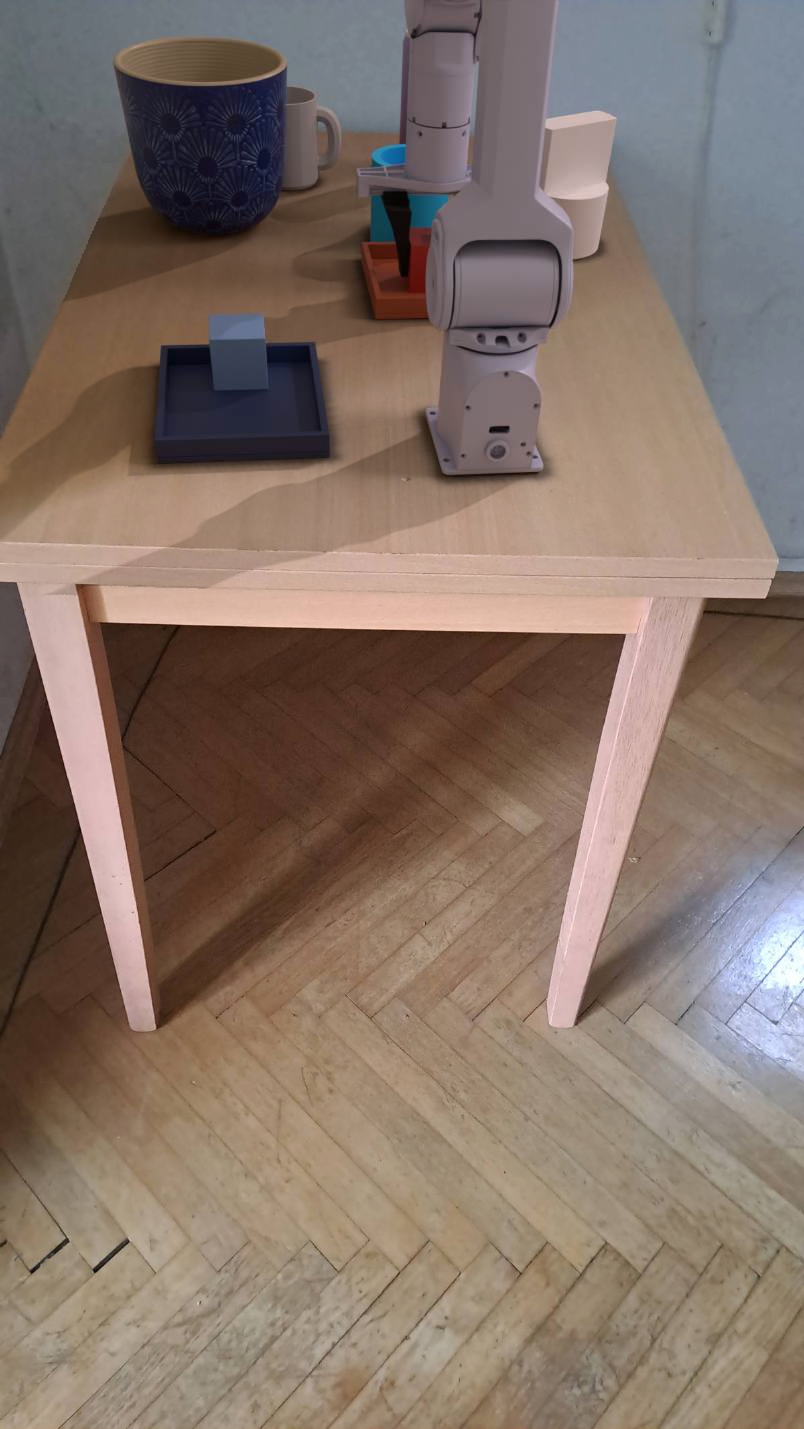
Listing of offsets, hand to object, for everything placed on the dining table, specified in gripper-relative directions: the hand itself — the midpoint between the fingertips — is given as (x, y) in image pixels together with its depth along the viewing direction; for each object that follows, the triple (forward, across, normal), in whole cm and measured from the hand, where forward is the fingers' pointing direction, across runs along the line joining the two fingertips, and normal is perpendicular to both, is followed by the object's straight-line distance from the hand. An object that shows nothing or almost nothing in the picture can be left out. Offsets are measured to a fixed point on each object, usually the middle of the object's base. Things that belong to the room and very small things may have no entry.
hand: (429, 272), depth 98 cm
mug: (+2, 0, -14) cm, 14 cm away
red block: (+1, 0, 0) cm, 1 cm away
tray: (+2, 0, 0) cm, 2 cm away
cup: (+2, +11, -30) cm, 32 cm away
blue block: (+1, +19, +18) cm, 26 cm away
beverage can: (+2, -4, -31) cm, 31 cm away
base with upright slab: (+2, -16, -11) cm, 19 cm away
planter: (+2, +21, -18) cm, 28 cm away
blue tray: (+2, +19, +22) cm, 29 cm away
